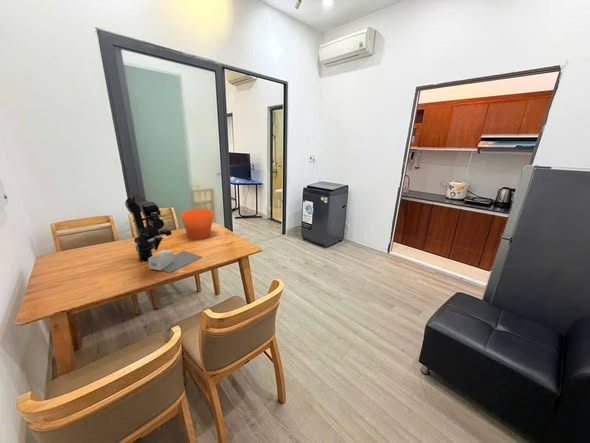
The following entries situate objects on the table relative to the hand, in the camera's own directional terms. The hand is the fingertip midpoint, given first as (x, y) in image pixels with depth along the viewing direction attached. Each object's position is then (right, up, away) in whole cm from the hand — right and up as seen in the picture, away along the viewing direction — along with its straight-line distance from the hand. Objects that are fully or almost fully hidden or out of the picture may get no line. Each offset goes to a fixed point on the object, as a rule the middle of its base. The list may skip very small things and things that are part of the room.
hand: (156, 249), depth 140 cm
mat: (+6, -9, +14) cm, 18 cm away
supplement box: (-2, -9, +1) cm, 9 cm away
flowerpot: (+3, +4, +55) cm, 56 cm away
